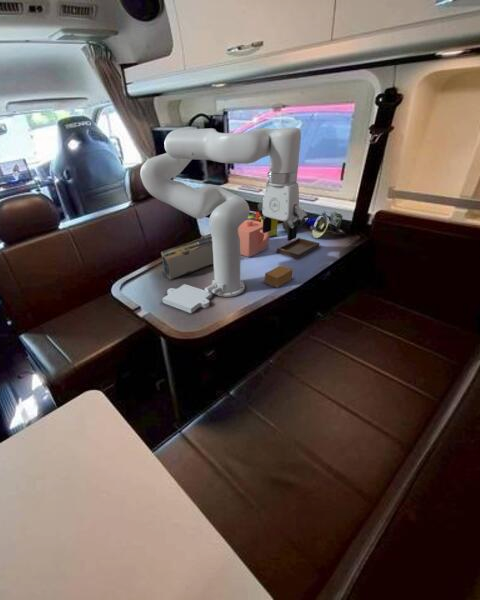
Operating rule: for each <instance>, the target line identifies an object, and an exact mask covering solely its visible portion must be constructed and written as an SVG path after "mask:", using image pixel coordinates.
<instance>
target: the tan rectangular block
mask: <svg viewBox="0 0 480 600" xmlns="http://www.w3.org/2000/svg"><path fill="white" fill-rule="evenodd" d="M293 272H294V269H293V268H290V267H287V266H284V265H282V264H280V265H277V266H276V267H275V268H273V269H271V270H269V271H267V272H265V273H264V283H265V284H267V285H268V286H269V285H270V286H272V287H274V288H279V287H281V286H282V285H284V284H285V283H288V282H289V281H291V280H293Z"/></svg>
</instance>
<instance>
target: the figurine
mask: <svg viewBox="0 0 480 600" xmlns="http://www.w3.org/2000/svg"><path fill="white" fill-rule="evenodd" d="M318 217H319V216H318ZM318 217H316V218H310V217H306V218H305V222H304V224H303V225H306V224H307V225H308V226H309V227H308V228H309V230H311V231H313V229H315V228H314V224H315V222H316V220H317V218H318ZM307 220H308V221H307Z"/></svg>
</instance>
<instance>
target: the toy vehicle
mask: <svg viewBox="0 0 480 600" xmlns="http://www.w3.org/2000/svg"><path fill="white" fill-rule="evenodd" d="M342 222H343V215H342V214H341V213H338V212H336V211H332V212H330V213H329V224H330V225H335V226H336V227H338V228H340V229H341V226H342Z"/></svg>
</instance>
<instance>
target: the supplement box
mask: <svg viewBox="0 0 480 600" xmlns="http://www.w3.org/2000/svg"><path fill="white" fill-rule="evenodd" d="M262 221H263V220H262V219H261V222H262ZM278 223H279V222H278V220H276V219H272V218H271V231H269V233H270V237H269V238H274V237H277V236H278Z"/></svg>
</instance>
